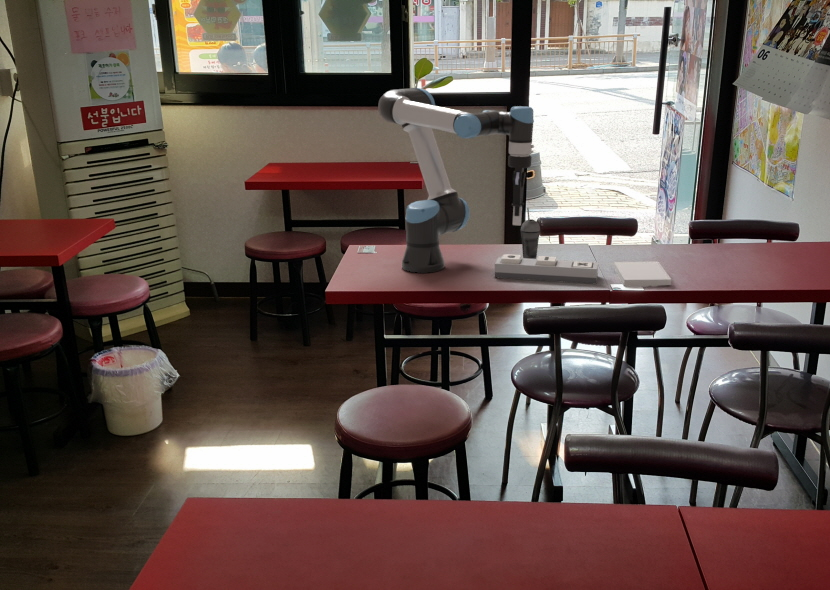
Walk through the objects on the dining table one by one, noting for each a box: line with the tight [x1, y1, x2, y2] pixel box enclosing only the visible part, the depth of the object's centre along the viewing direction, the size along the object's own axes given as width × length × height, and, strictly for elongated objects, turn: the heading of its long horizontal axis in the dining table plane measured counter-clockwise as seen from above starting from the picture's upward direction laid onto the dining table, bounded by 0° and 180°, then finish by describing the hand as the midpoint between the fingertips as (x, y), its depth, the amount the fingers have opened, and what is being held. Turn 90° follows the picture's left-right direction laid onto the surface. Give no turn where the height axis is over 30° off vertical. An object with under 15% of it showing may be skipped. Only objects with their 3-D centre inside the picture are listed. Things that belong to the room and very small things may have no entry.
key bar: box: [536, 255, 557, 266], centre depth 274 cm, size 6×6×3 cm
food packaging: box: [613, 261, 672, 288], centre depth 273 cm, size 15×3×20 cm
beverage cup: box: [519, 207, 542, 259], centre depth 292 cm, size 7×7×20 cm
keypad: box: [493, 256, 599, 284], centre depth 275 cm, size 34×9×5 cm, turn 75°
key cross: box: [573, 261, 592, 268], centre depth 272 cm, size 6×6×3 cm
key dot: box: [501, 253, 522, 264], centre depth 277 cm, size 6×6×3 cm
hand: (516, 224), depth 274 cm, fingers closed
